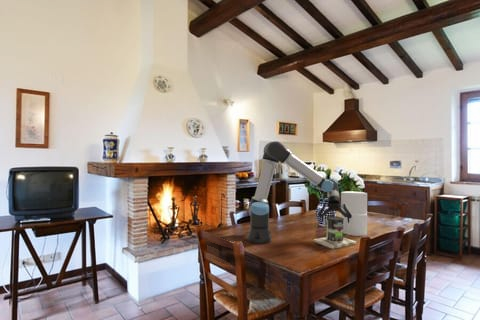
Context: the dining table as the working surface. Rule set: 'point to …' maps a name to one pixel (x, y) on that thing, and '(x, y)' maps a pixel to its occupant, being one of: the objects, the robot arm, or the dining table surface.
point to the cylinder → (355, 212)
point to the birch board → (335, 245)
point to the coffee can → (334, 229)
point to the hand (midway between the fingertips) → (335, 226)
